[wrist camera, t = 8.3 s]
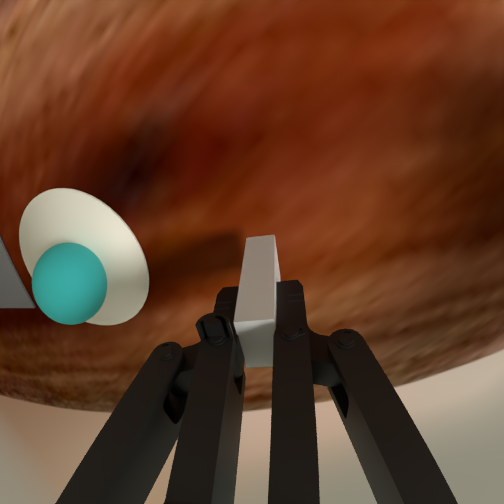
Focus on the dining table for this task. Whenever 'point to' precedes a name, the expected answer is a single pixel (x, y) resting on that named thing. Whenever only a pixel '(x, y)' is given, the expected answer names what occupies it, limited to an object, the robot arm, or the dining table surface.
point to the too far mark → (11, 284)
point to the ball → (69, 283)
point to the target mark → (89, 246)
